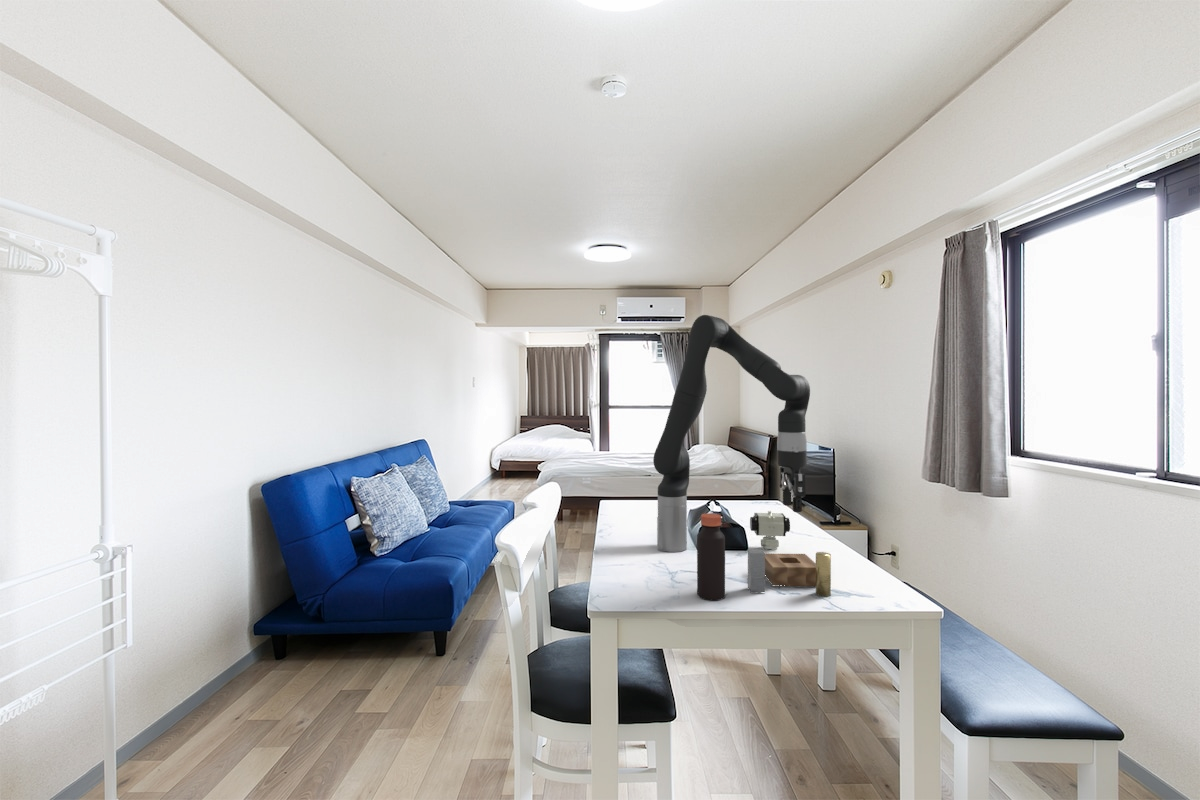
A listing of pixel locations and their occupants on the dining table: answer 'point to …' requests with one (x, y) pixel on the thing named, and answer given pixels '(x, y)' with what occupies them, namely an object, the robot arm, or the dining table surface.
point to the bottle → (711, 558)
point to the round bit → (823, 574)
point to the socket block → (790, 569)
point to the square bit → (756, 570)
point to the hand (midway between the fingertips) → (792, 508)
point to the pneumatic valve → (769, 527)
